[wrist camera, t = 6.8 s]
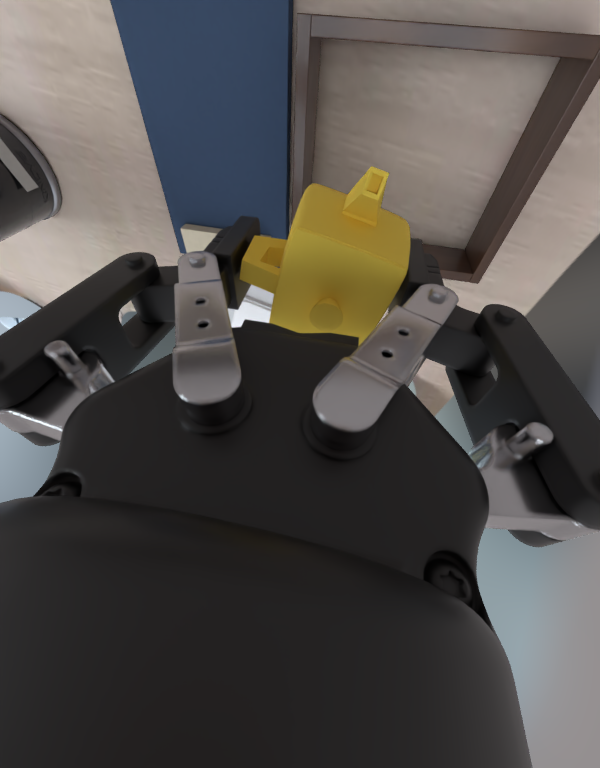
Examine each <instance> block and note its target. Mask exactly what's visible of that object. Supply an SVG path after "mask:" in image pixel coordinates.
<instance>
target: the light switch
mask: <svg viewBox="0 0 600 768" xmlns="http://www.w3.org/2000/svg"><path fill="white" fill-rule="evenodd" d="M273 298H274V294H273V293H270V292H268V291H266V290H263V289H261V288H259V287H256V286H254V285H252V284H251V286H250V288H249V290H248V292H247V294H246V296H245V298H244V299H243V301H242V303H241V305H240V307H239V309H238V310H235V309H228V313H229V318H230V322H231V327H232V328H233V327H241V326H242V324H243V322H244V320H245V319H247V320H253V321H259V322H266V323H269V319H270V314H271V308H272V303H273Z"/></svg>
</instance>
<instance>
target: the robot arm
mask: <svg viewBox="0 0 600 768" xmlns="http://www.w3.org/2000/svg"><path fill="white" fill-rule="evenodd" d="M60 206H61V194H60V189H59V186H58V183H57V180H56V178H55V176H54V174H53V172H52V170H51V168H50V166H49V165H48V163H47V162H46V160H45V159H44V157H43V156H42V154H41V153H40V152H39V150H38V149H37V148H36V147H35V145H34V144H33V143H32V142H31V141H30V140H29V139H28V138H27V137H26V136H25V135H24V134H23V133H22V132H21V131H20V130H19V129H18V128H17V127H16V126H15V125H14V124H12V123H11V122H10V121H9V120H7V119H6V118H5V117H3V116H2V115H0V242H1V241H3V240H5V239H7V238H9V237H11V236H12V235H14V234H16V233H18V232H20V231H22V230H24V229H26V228H28V227H30V226H32V225H34V224H35V223H37V222H39V221H41V220H45V219H48V218H50V217H52V216H54V215H55V214H56V213H57V212H58V211H59V209H60ZM255 235H256V236H261V234H260V222H259V219H258V218H256V217H248V216H240V217H239V218H238V220H237V221H236V222H235V223H234V225H233V226H232V227H231V226H228V227H226V228H224V229H222V230H220V231H219V232H218V234H217V235H216V236H215V237H214V238H213V240H212V242H210V243H209V244H208V246H207V247H206V248H205V249H204V250H203V251H193V252H189V253H186V254H184V255H182V256H181V257H180V258H179V259H178V266H165V267H158V265H157V262H156V259H155V257H154V256H153V255H151V254H149V253H144V252H135V253H129V254H126V255H123V256H121V257H119V258H117V259H116V260H114V261H113V262H111V263H110V264H108V265H107V266H105V267H104V268H102V269H101V270H99V271H98V272H96V273H95V274H93V275H92V276H90V277H89V278H87V279H85V280H84V281H82V282H81V283H79V284H78V285H76V286H75V287H73V288H72V289H70V290H69V291H67V292H66V293H64V294H63V295H61V296H60V297H58V298H57V299H55V300H54V301H52V302H51V303H49V304H48V305H46V306H44V307H43V308H41V309H40V310H38V311H37V312H36V313H34V314H32V315H31V316H29V317H28V318H26V319H25V320H23V321H22V322H20V323H19V324H17V325H16V326H14V327H13V328H11V329H10V330H8V331H7V332H5V333H4V334H2V335H1V336H0V422H1V423H2V424H4V425H5V426H6V427H8V428H9V429H11V430H12V431H14V432H18V433H19V434H21V435H22V436H24V437H25V438H26V439H28V440H29V441H31V442H32V443H34V444H35V445H38V446H50V445H54V444H57V443H59V442H60V446H59V451H58V454H57V458H56V461H55V463H54V466H53V468H52V470H51V472H50V474H49V476H48V478H47V480H46V482H45V483H44V484H43V486H42V487H41V488H40V489H39V490H38V492H37V493H36V494H35V495H34V496H33V497H27V498H19V499H14V500H10V501H7V502H3V503H0V768H532V764H531V759H530V754H529V749H528V745H527V740H526V735H525V730H524V726H523V720H522V715H521V711H520V706H519V701H518V696H517V691H516V686H515V682H514V678H513V674H512V670H511V666H510V664H509V661H508V658H507V656H506V653H505V651H504V649H503V647H502V645H501V642H500V640H499V638H498V636H497V634H496V633H495V630H494V628H493V626H492V624H491V622H490V619H489V617H488V614H487V612H486V609H485V606H484V604H483V601H482V598H481V595H480V592H479V589H478V584H477V576H476V565H477V564H476V563H477V553H478V546H479V543H480V539H481V536H482V533H483V530H484V528H493V529H507V530H508V531H509V532H510V533H511V534H512V535H513V536H514V537H515V538H516V539H518V540H519V541H521V542H523V543H525V544H527V545H529V546H533V547H543V546H547V545H551V544H554V543H558V542H562V541H566V540H569V539H573V538H577V537H580V536H584V535H588V534H592V533H595V532H599V531H600V420H599V419H598V417H597V416H596V414H595V413H594V412H593V410H592V409H591V408H590V406H589V405H588V403H587V402H586V401H585V399H584V398H583V396H582V395H581V394H580V392H579V391H578V390H577V388H576V387H575V385H574V384H573V383H572V381H571V380H570V378H569V377H568V376H567V375H566V373H565V372H564V370H563V369H562V367H561V366H560V365H559V363H558V362H557V361H556V359H555V358H554V356H553V355H552V354H551V352H550V351H549V349H548V348H547V347H546V345H545V344H544V343H543V341H542V340H541V339H540V337H539V336H538V334H537V333H536V332H535V330H534V329H533V328H532V326H531V325H530V323H529V322H528V321H527V319H526V318H525V317H524V316H523V315H522V314H521V313H520V312H518V311H516V310H515V309H513V308H510V307H507V306H504V305H499V304H490V305H487V306H485V307H484V308H483V310H482V311H481V313H480V314H478V313H475V312H472V311H469V310H466V309H463V308H461V307H459V306H457V303H458V296H457V295H456V293H455V292H454V291H452V290H451V289H449V288H447V287H445V286H444V284H443V280H442V276H441V274H440V273H441V272H440V269H439V265H438V261H437V259H436V258H435V257H434V256H433V255H432V254H430V253H424V250H423V245H422V240H421V239H414V238H410V255H409V264H408V270H407V274H406V276H405V278H404V280H403V282H402V284H401V286H400V288H399V290H398V291H397V293H396V295H395V297H394V298H393V300H392V302H391V303H390V305H389V307H388V311H389V313H388V314H387V315H386V317H385V318H384V319H383V320H382V321H381V322H380V323H379V324H378V325H377V327H376V328H375V329H374V330H373V331H372V332H371V333H370V334H369V335H368V337H367V338H366V339H365V340H364V341H363V342H362V343H361V344H360V345H359V346H358V344H359V337H354V336H348V335H342V334H335V333H298V332H295V331H292V330H289V329H286V328H283V327H281V326H278V325H275V324H272V323H266V322H259V321H253V320H247V319H245V320H244V322H243V324H242V326H241V327H233V328H232V327H231V322H230V318H229V313H228V309H235V310H238V309H239V307H240V305H241V303H242V301H243V299H244V298H245V296H246V294H247V292H248V290H249V288H250V286H251V284H249V283H247V282H245V281H242V280H240V271H241V264H242V259H243V257H244V255H245V253H246V251H247V249H248V247H249V245H250V243H251V241H252V240H253V238H254V236H255ZM130 300H131V301H132V303H133V305H134V307H135V310H136V312H137V314H136V315H135V316H134V317H133V318H131V319H130V320H129V321H128V322H127V323H126V324H124V325H123V326H122V325H121V323H120V321H119V317H118V316H119V311H120V309H121V308H122V307H123V306H124V305H125V304H127V303H128V302H129V301H130ZM174 326H175V334H176V346H175V347H174V348H173V353H171V354H169V355H167V356H165V357H164V358H161V359H159V360H157V361H155V362H153V363H151V364H149V365H147V366H145V367H143V368H141V369H139V370H137V371H135V372H133V373H131V371H132V370H133V369H134V368H135V367H136V366H137V365H138V364H139V363H140V362H141V361H142V360H143V359H144V358H145V357H146V356H147V355H148V354H149V352H150V351H151V350H152V349H153V348H154V347H155V346H156V345H157V344H158V343H159V342H160V341H161V340H162V339H163V338H164V337H165V335H167V333H168V332H169V331H170V330H171V329H172V328H173V327H174ZM426 358H427V359H430V360H432V361H435V362H437V363H440V364H443V365H445V366H446V367H445V368H446V373H447V375H448V378H449V381H450V384H451V386H452V389H453V392H454V394H455V397H456V399H457V402H458V405H459V408H460V410H461V413H462V416H463V418H464V421H465V423H466V426H467V429H468V432H469V434H470V437H471V440H472V442H473V445H474V446H473V447H472V448H471V450H470V452H469V455H468V454H467V453H466V452H465V451H464V449H462V447H461V446H460V445H459V444H458V443H457V442H456V441H455V439H454V438H453V437H452V436H451V435H450V434H449V433H448V432H447V431H446V429H445V428H444V427H443V426H442V425H441V424H440V423H439V421H438V420H437V419H436V418H435V417H434V416H433V415H432V414H431V413H430V411H429V410H428V409H427V408H426V407H425V406H424V405H423V404H422V402H421V401H420V400H419V399H418V398H417V397H416V396H415V395H414V394H413V393H412V391H411V390H410V389H409V388H408V386H409V384H410V383H411V381H412V380H413V378H414V377H415V375H416V374H417V372H418V371H419V369H420V367H421V366H422V364H423V363H424V361H425V360H426ZM495 365H496V367H497V369H498V378H497V381H495V379H494V377H493V375H492V373H491V371H490V370H491V369H492V368H493V367H494V366H495ZM130 373H131V374H130Z"/></svg>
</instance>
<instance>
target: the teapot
mask: <svg viewBox="0 0 600 768" xmlns="http://www.w3.org/2000/svg"><path fill="white" fill-rule="evenodd" d="M388 175H389V173H387V172H385V171H382V170H380V169H377V168H375V167H372V166H371V167H370V169H369V170H368V171H367V172H366V173H365V175H364V176H363V177H362V178H361V179H360V180H359V182H358V183H357V184H356V185H355V186H354V188H353V189H352V190H351V191H350V192H349V193H348V195H347V194H345V193H342V192H339V191H337V190H334V189H331V188H328V187H326V186H323V185H320V184H315V183H313V184H311V185H309V186H308V187H307V189H306V190H305V192H304V194H303V196H302V198H301V201H300V203H299V206H298V209H297V211H296V214H295V217H294V220H293V223H292V226H291V229H290V233H289V236H288V239H287V240H285V239H277V238H270V237H263V236H256V235H255V236H254V238H253V240H252V241H251V243H250V245H249V247H248V249H247V251H246V253H245V255H244V257H243V259H242V264H241V271H240V280H242V281H245V282H247V283H249V284H252V285H254V286H256V287H259V288H261V289H263V290H266V291H268V292H270V293H273V294H274V298H273V303H272V308H271V314H270V319H269V323H272V324H275V325H278V326H281V327H283V328H286V329H289V330H292V331H295V332H298V333H335V334H342V335H348V336H354V337H359V344H358V346H359V345H360V344H361V343H362V342H363V341H364V340H365V339H366V338H367V337H368V335H369V334H370V333H371V332H372V331H373V330H374V329H375V327H376V326H377V324H378V323H379V321H380V320H381V318H382V317H383V315H384V313H385V312H386V310H387V308H388V307H389V305H390V303H391V302H392V300H393V298H394V297H395V295H396V293H397V291H398V290H399V288H400V286H401V284H402V282H403V280H404V278H405V276H406V274H407V270H408V264H409V255H410V227H409V225H408V223H407V221H406V220H405V219H403V218H402V217H400V216H398V215H396V214H394V213H391V212H389V211H387V210H384V209H382V208H381V204H382V199H383V195H384V191H385V186H386V182H387V178H388ZM275 266H276V267H275ZM278 267H280V268H278Z"/></svg>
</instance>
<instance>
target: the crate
mask: <svg viewBox="0 0 600 768" xmlns="http://www.w3.org/2000/svg"><path fill="white" fill-rule="evenodd" d="M322 38H328V39H341V40H353V41H365V42H378V43H390V44H402V45H415V46H427V47H440V48H452V49H464V50H477V51H489V52H502V53H514V54H526V55H539V56H551V57H561V59H560V61H559V63H558V65H557V67H556V69H555V71H554V73H553V75H552V77H551V79H550V81H549V83H548V85H547V87H546V89H545V91H544V93H543V95H542V97H541V99H540V101H539V103H538V105H537V107H536V109H535V111H534V113H533V115H532V117H531V119H530V121H529V123H528V125H527V127H526V129H525V131H524V133H523V135H522V137H521V139H520V141H519V143H518V145H517V147H516V149H515V151H514V153H513V155H512V157H511V159H510V161H509V163H508V165H507V167H506V169H505V171H504V173H503V175H502V177H501V179H500V181H499V183H498V185H497V187H496V189H495V191H494V193H493V195H492V197H491V199H490V201H489V203H488V205H487V207H486V209H485V211H484V213H483V215H482V217H481V219H480V221H479V223H478V225H477V227H476V229H475V231H474V233H473V235H472V237H471V239H470V241H469V243H468V245H467V247H466V249H465V250H462V249H455V248H447V247H440V246H433V245H426V244H422V245H423V250H424V253H430V254H432V255H433V256H434V257H435V258H436V259H437V261H438V265H439V269H440V272H441V273H440V274H441V276H442V278H444V279H451V280H457V281H464V282H470V283H477V284H478V283H479V281H480V280H481V278H482V276H483V275H484V273H485V271H486V270H487V268H488V266H489V265H490V263H491V261H492V260H493V258H494V256H495V254H496V253H497V251H498V249H499V248H500V246H501V244H502V243H503V241H504V239H505V238H506V236H507V234H508V232H509V231H510V229H511V227H512V226H513V224H514V222H515V221H516V219H517V217H518V216H519V214H520V212H521V210H522V209H523V207H524V205H525V204H526V202H527V200H528V199H529V197H530V195H531V194H532V192H533V190H534V188H535V187H536V185H537V183H538V182H539V180H540V178H541V177H542V175H543V173H544V172H545V170H546V168H547V166H548V165H549V163H550V161H551V160H552V158H553V156H554V155H555V153H556V151H557V150H558V148H559V146H560V144H561V143H562V141H563V139H564V138H565V136H566V134H567V133H568V131H569V129H570V128H571V126H572V124H573V122H574V121H575V119H576V117H577V116H578V114H579V112H580V111H581V109H582V107H583V106H584V104H585V102H586V101H587V99H588V97H589V95H590V94H591V92H592V90H593V89H594V87H595V85H596V84H597V82H598V80H599V79H600V35H590V34H576V33H563V32H549V31H536V30H522V29H508V28H495V27H481V26H468V25H454V24H441V23H427V22H414V21H400V20H387V19H373V18H359V17H346V16H332V15H319V14H305V13H297V41H296V79H295V118H294V156H293V195H292V223H293V220H294V217H295V214H296V211H297V209H298V206H299V203H300V201H301V198H302V196H303V194H304V192H305V190H306V189H307V187H308V186H309V185H311V184H312V172H313V157H314V143H315V129H316V114H317V100H318V86H319V71H320V57H321V42H322Z"/></svg>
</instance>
